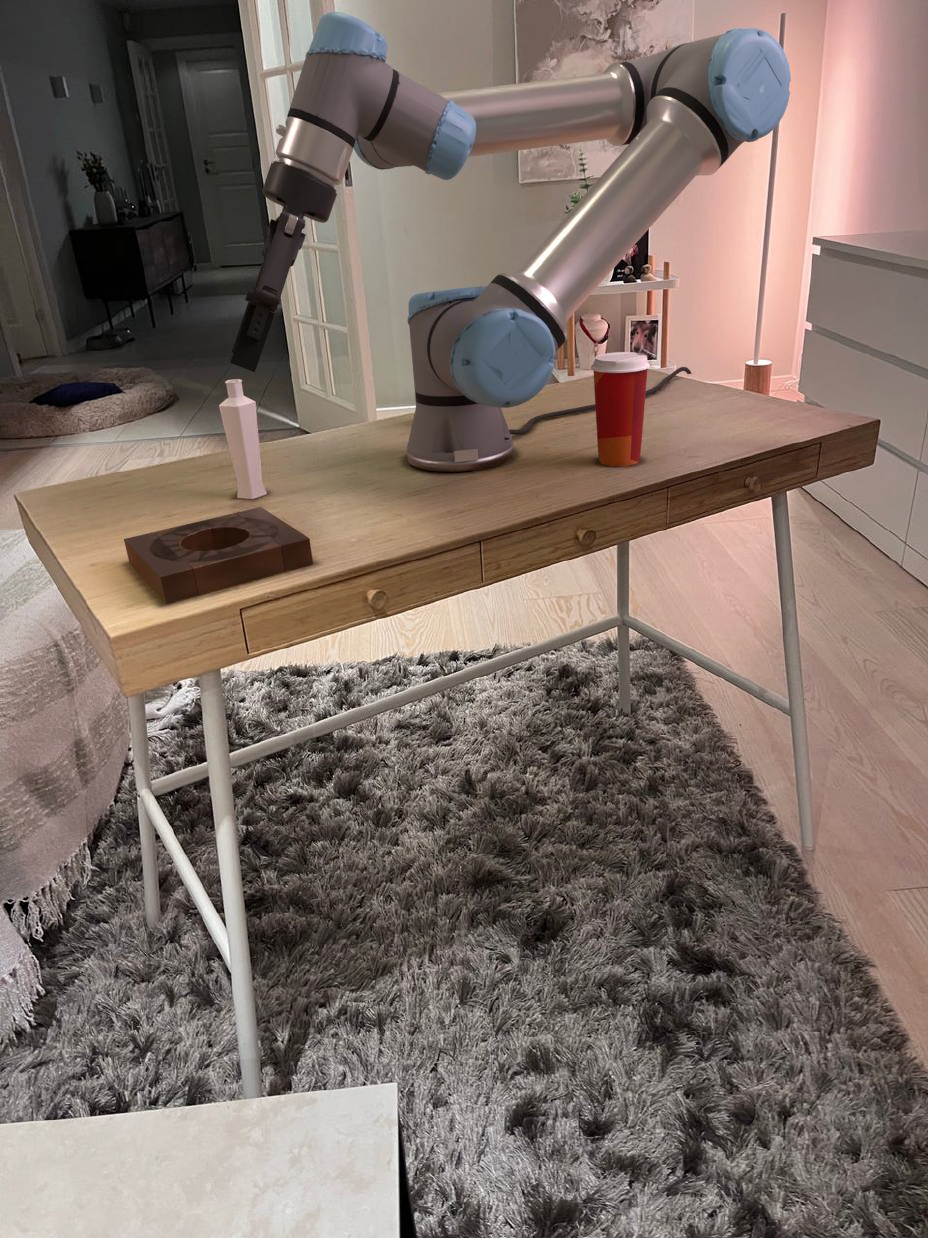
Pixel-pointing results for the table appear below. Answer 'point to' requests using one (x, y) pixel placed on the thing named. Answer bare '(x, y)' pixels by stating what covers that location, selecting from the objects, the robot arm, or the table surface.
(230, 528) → the socket pad
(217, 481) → the table surface
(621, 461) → the paper cup
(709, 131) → the robot arm
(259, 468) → the perfume bottle
